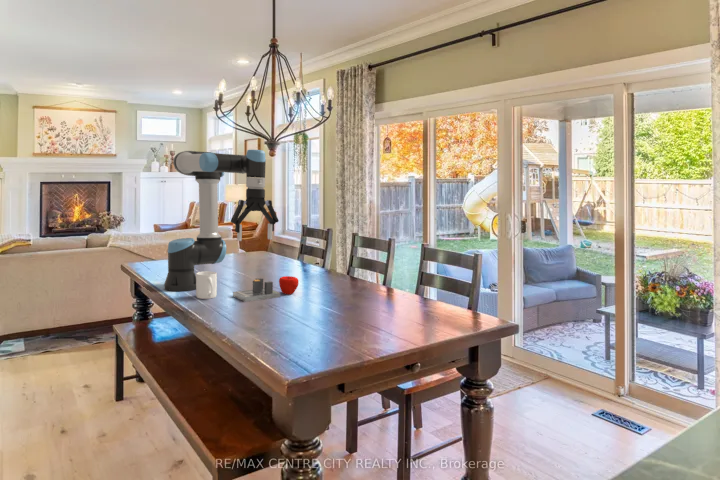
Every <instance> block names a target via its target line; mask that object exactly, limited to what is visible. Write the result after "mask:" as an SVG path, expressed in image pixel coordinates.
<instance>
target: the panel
mask: <svg viewBox="0 0 720 480" xmlns="http://www.w3.org/2000/svg"><path fill="white" fill-rule="evenodd" d="M232 297H234V298H236V299H238V300H240V301H242V302H245V303H247V302H255V301H261V300H267V299H268V300H270V299H277V298H281V292H279V291H276V290H274V289H273V293H269V294H266V293H264V287H263V289H262V290H261V292H257V293H254V292H253V289H248V290H237V291H232Z"/></svg>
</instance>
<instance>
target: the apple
mask: <svg viewBox="0 0 720 480" xmlns="http://www.w3.org/2000/svg"><path fill="white" fill-rule="evenodd" d="M278 279H279V280H278V284H279V287H280V288H279V289H280V291H281V293H282V294H283V295H293V294H294V293H295V292H296V291H297V288H298V286H299V279H298V277H296V276H288V275H285V276H281V277H280V278H278Z"/></svg>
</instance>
